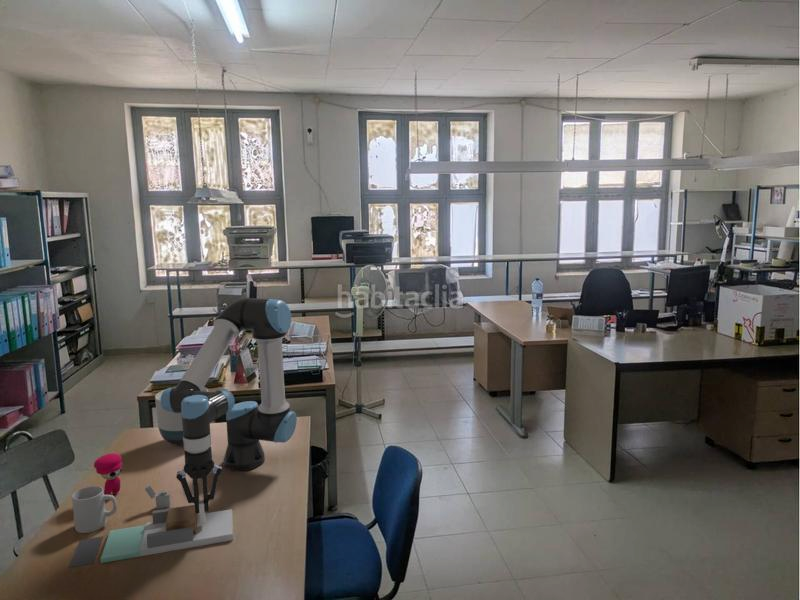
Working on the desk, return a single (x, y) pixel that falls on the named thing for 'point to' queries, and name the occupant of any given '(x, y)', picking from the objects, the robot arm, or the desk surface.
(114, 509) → the mug
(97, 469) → the toy
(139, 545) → the tile
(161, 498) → the lighter
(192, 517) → the block
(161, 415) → the planter
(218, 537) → the plate
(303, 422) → the desk surface
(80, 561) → the mat
